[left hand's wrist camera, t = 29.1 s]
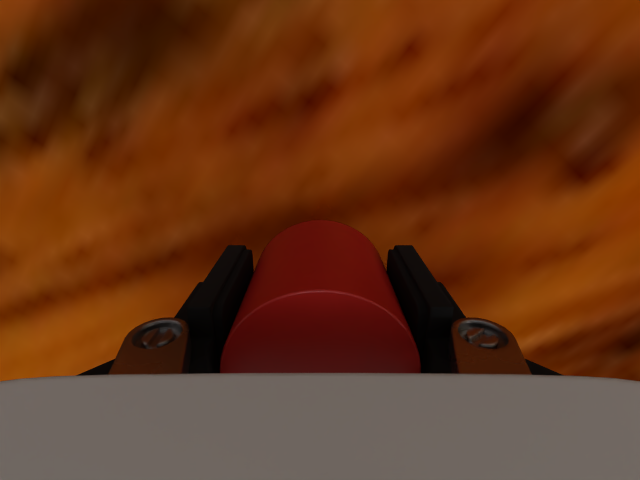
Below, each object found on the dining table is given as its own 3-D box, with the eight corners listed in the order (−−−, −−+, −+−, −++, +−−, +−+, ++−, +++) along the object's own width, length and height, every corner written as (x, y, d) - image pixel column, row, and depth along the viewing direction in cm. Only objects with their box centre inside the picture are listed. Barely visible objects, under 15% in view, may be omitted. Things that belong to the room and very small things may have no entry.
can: (281, 199, 11) (256, 258, 7) (406, 247, 12) (459, 332, 7) (239, 311, 12) (196, 421, 8) (353, 349, 13) (369, 472, 9)
